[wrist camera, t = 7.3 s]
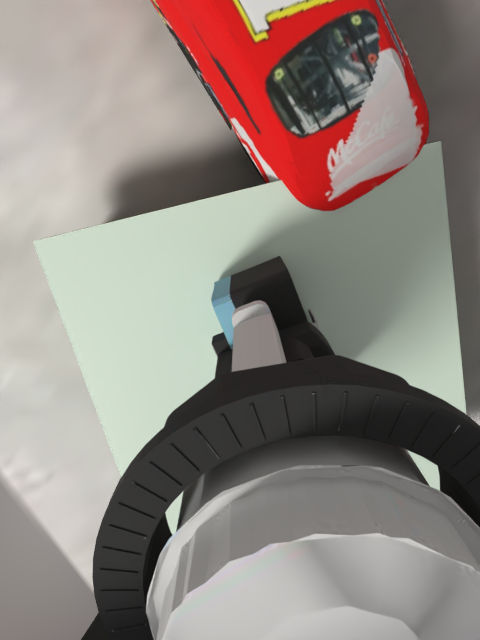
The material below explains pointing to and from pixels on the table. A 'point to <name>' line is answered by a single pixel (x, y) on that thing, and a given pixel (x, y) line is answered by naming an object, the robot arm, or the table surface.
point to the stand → (240, 254)
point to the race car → (307, 89)
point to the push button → (294, 496)
